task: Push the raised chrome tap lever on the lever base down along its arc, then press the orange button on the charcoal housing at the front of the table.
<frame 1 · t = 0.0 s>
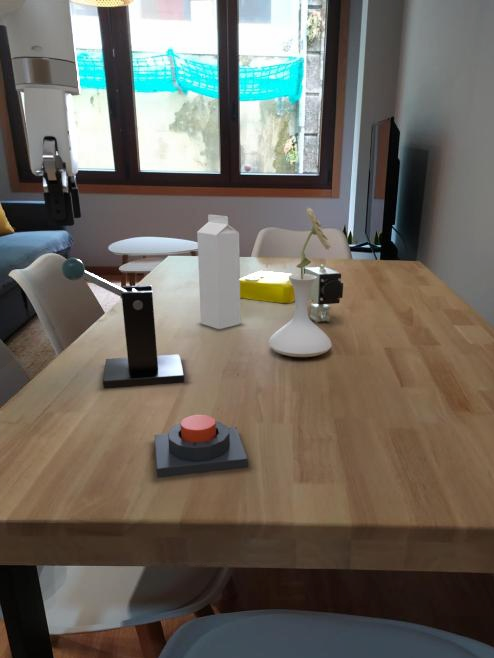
hand: (66, 221, 74), 24 cm above the table, tool pointing down, fingers open, 9 cm apart
tap lever: (105, 284, 81), point 15 cm above the table, hinge at 30.0°
milk: (220, 324, 114), on the table
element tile: (273, 295, 140), on the table
button housing: (199, 455, 64), on the table
flower in vase: (301, 351, 100), on the table
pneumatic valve: (321, 320, 119), on the table
lever base: (144, 373, 87), on the table
button: (198, 428, 63), point 3 cm above the table, slide at 0.1 cm
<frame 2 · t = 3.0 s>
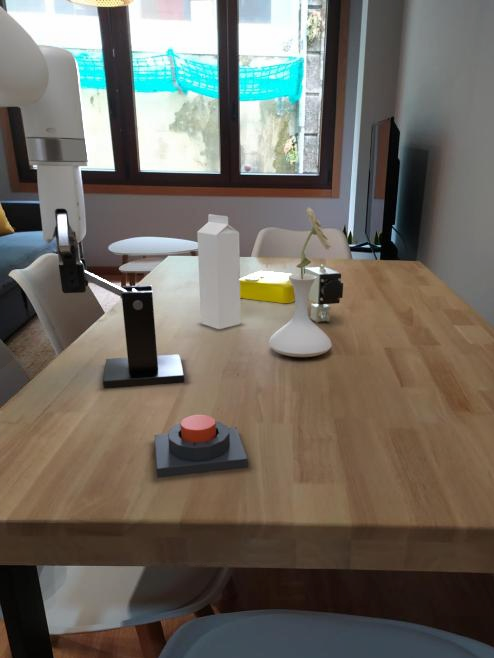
hand: (75, 288, 80), 14 cm above the table, tool pointing down, fingers closed on tap lever, 3 cm apart
tap lever: (105, 284, 81), point 15 cm above the table, hinge at 30.0°, touching gripper
everything else where it was.
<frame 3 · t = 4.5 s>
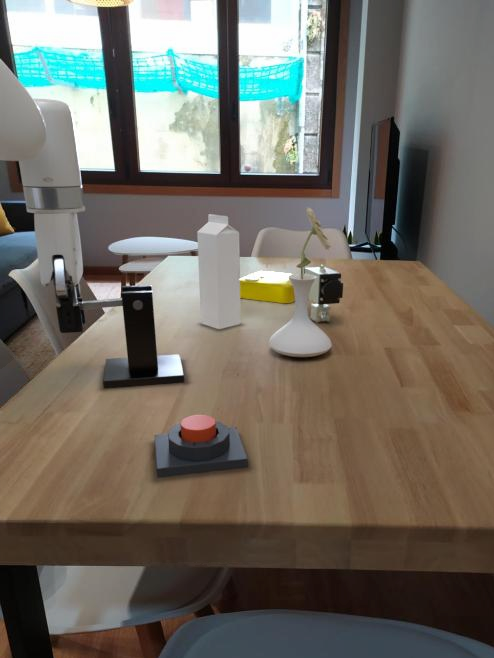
hand: (73, 326, 82), 8 cm above the table, tool pointing down, fingers closed on tap lever, 3 cm apart
tap lever: (103, 303, 82), point 12 cm above the table, hinge at -3.1°, touching gripper
everything else where it was.
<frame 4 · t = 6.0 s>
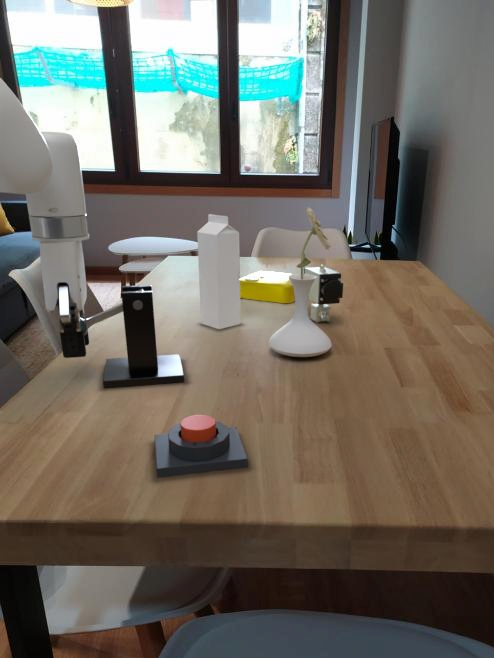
hand: (76, 349, 83), 5 cm above the table, tool pointing down, fingers open, 4 cm apart
tap lever: (106, 314, 82), point 10 cm above the table, hinge at -22.1°
everything else where it was.
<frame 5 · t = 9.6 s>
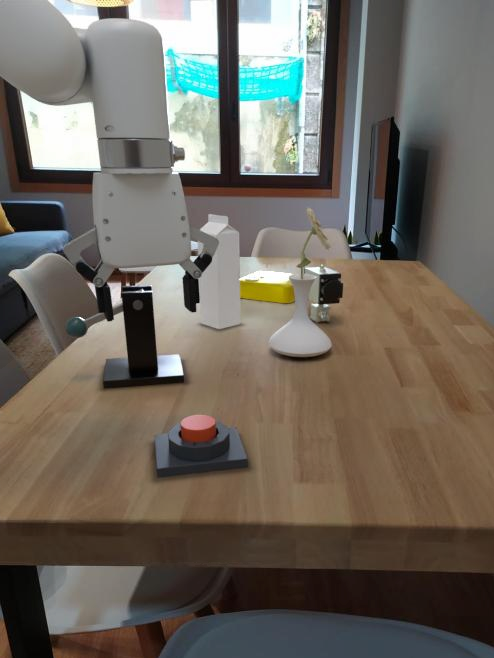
hand: (150, 313, 65), 15 cm above the table, tool pointing down, fingers open, 9 cm apart
nothing on the table moved.
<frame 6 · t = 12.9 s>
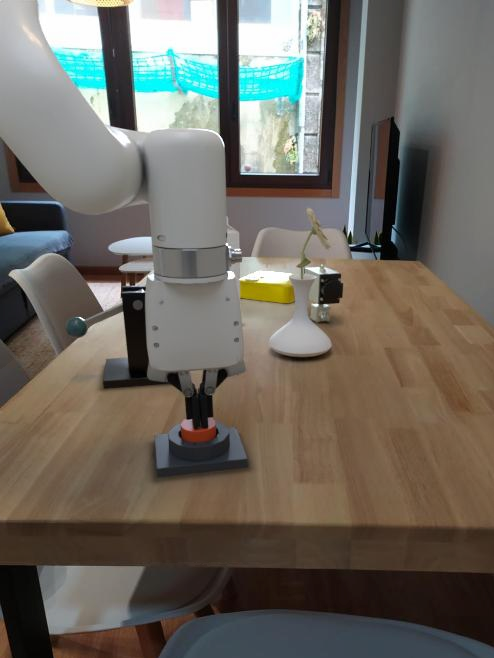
hand: (199, 423, 62), 4 cm above the table, tool pointing down, fingers closed
button: (198, 430, 63), point 3 cm above the table, slide at -0.1 cm, touching gripper
everything else where it was.
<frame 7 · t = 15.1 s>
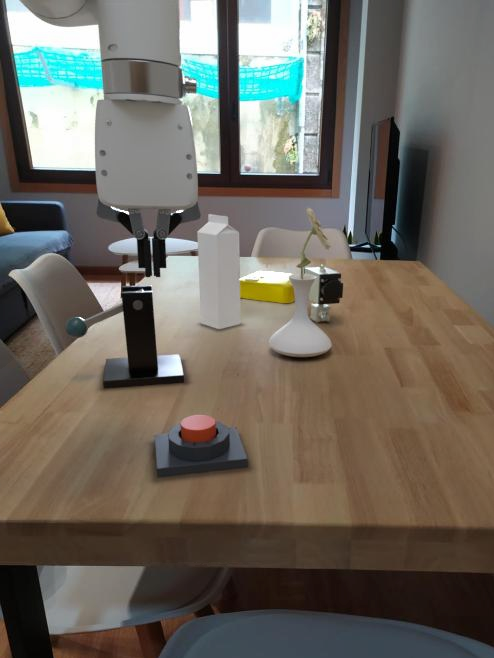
hand: (152, 274, 60), 20 cm above the table, tool pointing down, fingers closed
button: (198, 428, 63), point 3 cm above the table, slide at 0.1 cm
everything else where it was.
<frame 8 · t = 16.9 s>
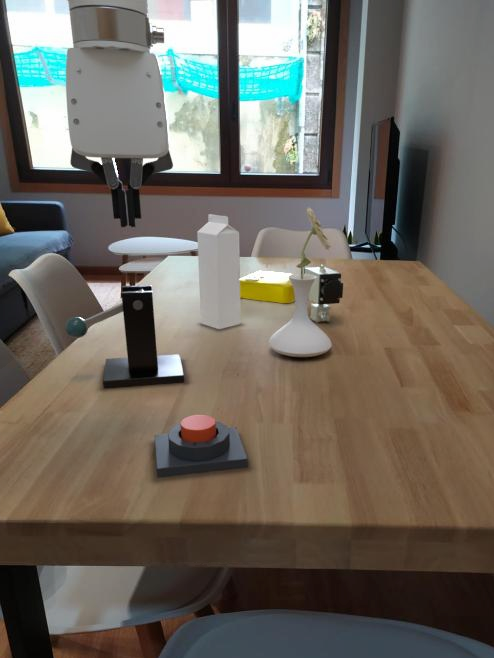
hand: (128, 225, 62), 25 cm above the table, tool pointing down, fingers closed
nothing on the table moved.
at the end: tap lever at -22° (first picture: +30°); button pushed in 1.1 cm at the most during the clip, back to where it started at the end; button slide at 0.1 cm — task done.
